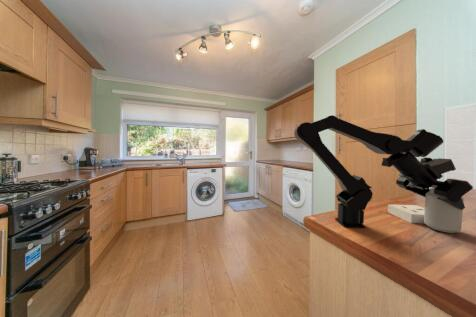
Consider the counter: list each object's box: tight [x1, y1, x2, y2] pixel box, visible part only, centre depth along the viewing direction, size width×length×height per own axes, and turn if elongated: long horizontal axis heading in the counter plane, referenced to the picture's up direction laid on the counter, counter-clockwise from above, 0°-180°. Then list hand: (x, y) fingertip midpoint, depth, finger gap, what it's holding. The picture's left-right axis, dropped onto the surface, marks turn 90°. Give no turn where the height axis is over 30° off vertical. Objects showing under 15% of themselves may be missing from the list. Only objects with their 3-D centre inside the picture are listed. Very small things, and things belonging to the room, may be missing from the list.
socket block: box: [387, 204, 425, 224], centre depth 63 cm, size 10×10×3 cm
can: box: [423, 187, 465, 234], centre depth 53 cm, size 8×8×12 cm
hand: (448, 204), depth 53 cm, fingers closed on can, 7 cm apart
